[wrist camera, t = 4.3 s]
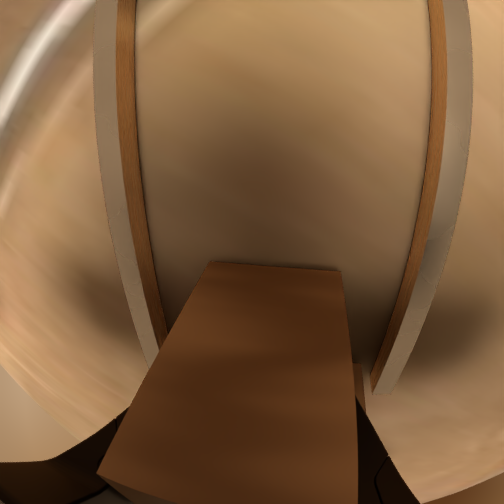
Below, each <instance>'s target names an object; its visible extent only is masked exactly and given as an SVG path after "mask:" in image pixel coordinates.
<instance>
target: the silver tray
mask: <svg viewBox="0 0 504 504" xmlns="http://www.w3.org/2000/svg"><path fill="white" fill-rule="evenodd" d="M428 6H429V15H430V27H431V44H432V102H431V120H430V133H429V144H428V153H427V162H426V169H425V177H424V183H423V190H422V196H421V202H420V207H419V213H418V218H417V223H416V228H415V232H414V237H413V241H412V246H411V250H410V254H409V258H408V262H407V266H406V270H405V274H404V277H403V281H402V284H401V288H400V291H399V295H398V298H397V301H396V305H395V308H394V311H393V314H392V317H391V320H390V323H389V326H388V329H387V332H386V335H385V338H384V340H383V343H382V346H381V349H380V351H379V354H378V357H377V359H376V362H375V364H374V367H373V369H372V372H371V374H370V381H371V389H372V395H382V394H391V392H392V391H393V389H394V387H395V385H396V383H397V381H398V379H399V377H400V375H401V373H402V371H403V369H404V367H405V365H406V363H407V360H408V358H409V356H410V354H411V352H412V350H413V347H414V345H415V343H416V341H417V338H418V336H419V334H420V331H421V329H422V326H423V324H424V321H425V319H426V316H427V314H428V311H429V308H430V306H431V303H432V300H433V297H434V295H435V292H436V289H437V286H438V283H439V280H440V277H441V274H442V271H443V267H444V264H445V261H446V257H447V254H448V250H449V247H450V243H451V239H452V236H453V232H454V228H455V223H456V219H457V215H458V210H459V205H460V201H461V196H462V190H463V185H464V179H465V173H466V166H467V159H468V151H469V142H470V132H471V120H472V102H473V57H472V40H471V28H470V19H469V11H468V4H467V0H428ZM135 7H136V0H96V8H95V22H94V44H93V84H94V108H95V123H96V135H97V145H98V155H99V163H100V171H101V178H102V185H103V192H104V198H105V204H106V210H107V216H108V221H109V226H110V231H111V236H112V241H113V246H114V250H115V255H116V259H117V263H118V268H119V272H120V276H121V280H122V284H123V287H124V291H125V295H126V299H127V302H128V306H129V309H130V313H131V316H132V319H133V323H134V326H135V329H136V332H137V335H138V339H139V342H140V345H141V348H142V351H143V354H144V357H145V359H146V362H147V365H148V368H149V369H150V367H151V365H152V364H153V362H154V360H155V358H156V356H157V354H158V352H159V351H160V349H161V347H162V345H163V343H164V341H165V340H166V338H167V336H168V331H167V327H166V322H165V318H164V314H163V309H162V304H161V300H160V295H159V290H158V285H157V280H156V275H155V270H154V264H153V258H152V253H151V247H150V241H149V234H148V228H147V221H146V214H145V207H144V199H143V191H142V183H141V174H140V164H139V153H138V142H137V128H136V111H135V87H134V29H135Z"/></svg>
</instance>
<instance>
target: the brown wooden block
mask: <svg viewBox="0 0 504 504" xmlns="http://www.w3.org/2000/svg"><path fill="white" fill-rule="evenodd" d="M355 395H356V397H357V399H358V400H359V402H360V404H361V406H362V408H363V409H364V411H365V413H366V408H365V397H364V386H363V377H362V368H361V363H352V355H351V345H350V336H349V328H348V320H347V312H346V305H345V298H344V291H343V284H342V278H341V271H327V270H314V269H300V268H287V267H274V266H261V265H249V264H237V263H224V262H212V261H210V262H209V263H208V265H207V267H206V269H205V270H204V272H203V274H202V275H201V277H200V279H199V281H198V282H197V284H196V286H195V288H194V289H193V291H192V293H191V295H190V297H189V298H188V300H187V302H186V304H185V305H184V307H183V309H182V311H181V313H180V314H179V316H178V318H177V320H176V321H175V323H174V325H173V327H172V329H171V331H170V332H169V334H168V336H167V338H166V340H165V341H164V343H163V345H162V347H161V349H160V351H159V352H158V354H157V356H156V358H155V360H154V362H153V364H152V365H151V367H150V369H149V371H148V373H147V375H146V377H145V378H144V380H143V382H142V384H141V386H140V388H139V390H138V392H137V394H136V396H135V397H134V399H133V401H132V403H131V405H130V407H129V409H128V411H127V413H126V415H125V417H124V419H123V421H122V423H121V425H120V426H119V428H118V430H117V432H116V434H115V436H114V438H113V440H112V442H111V444H110V446H109V448H108V450H107V452H106V454H105V456H104V458H103V460H102V463H101V465H100V467H99V469H98V471H97V474H98V475H99V476H100V477H101V478H102V479H103V480H105V481H106V482H107V483H108V484H109V485H111V486H112V487H113V488H114V489H116V490H117V491H118V492H119V493H121V494H122V495H123V496H125V497H126V498H127V499H129V500H130V501H131V502H133V503H134V504H358V444H357V420H356V403H355Z"/></svg>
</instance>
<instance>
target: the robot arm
mask: <svg viewBox="0 0 504 504" xmlns="http://www.w3.org/2000/svg"><path fill="white" fill-rule="evenodd" d="M355 403H356V420H357V444H358V504H420V502H419V501H418V500H417V498H416V497H415V496H414V494H413V493H412V492H411V490H410V489H409V487H408V486H407V485H406V483H405V482H404V480H403V479H402V477H401V476H400V474H399V472H398V471H397V469H396V467H395V465H394V464H393V462H392V460H391V458H390V456H388V453H387V451H386V449H385V447H384V445H383V444H382V442H381V440H380V438H379V436H378V435H377V433H376V431H375V429H374V427H373V425H372V424H371V422H370V420H369V418H368V416H367V415H366V413H365V411H364V409H363V408H362V406H361V404H360V402H359V400H358V399H357V397H356V395H355ZM129 407H130V406H129ZM129 407H128V408H127V409H126V410H124V411H123V412H122V413H121V414H120V415H118V416H117V417H116V419H113V420H112V421H111V422H109V423H108V424H107V425H106V426H104V427H103V428H102V429H100V430H99V431H98V432H96V433H95V434H93V435H92V436H90V437H89V438H87V439H86V440H84V441H82V442H81V443H79V444H77V445H76V446H74V447H72V448H71V449H69V450H67V451H65V452H64V453H62V454H60V455H58V456H57V457H54V458H52V459H48V460H44V461H34V462H5V463H4V462H2V463H1V462H0V504H134V503H133V502H131V501H130V500H129V499H127V498H126V497H125V496H123V495H122V494H121V493H119V492H118V491H117V490H116V489H114V488H113V487H112V486H111V485H109V484H108V483H107V482H106V481H105V480H103V479H102V478H101V477H100V476H99V475H98V474H97V471H98V469H99V467H100V465H101V463H102V460H103V458H104V456H105V454H106V452H107V450H108V448H109V446H110V444H111V442H112V440H113V438H114V436H115V434H116V432H117V430H118V428H119V426H120V425H121V423H122V421H123V419H124V417H125V415H126V413H127V411H128V409H129ZM387 456H388V457H387Z"/></svg>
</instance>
